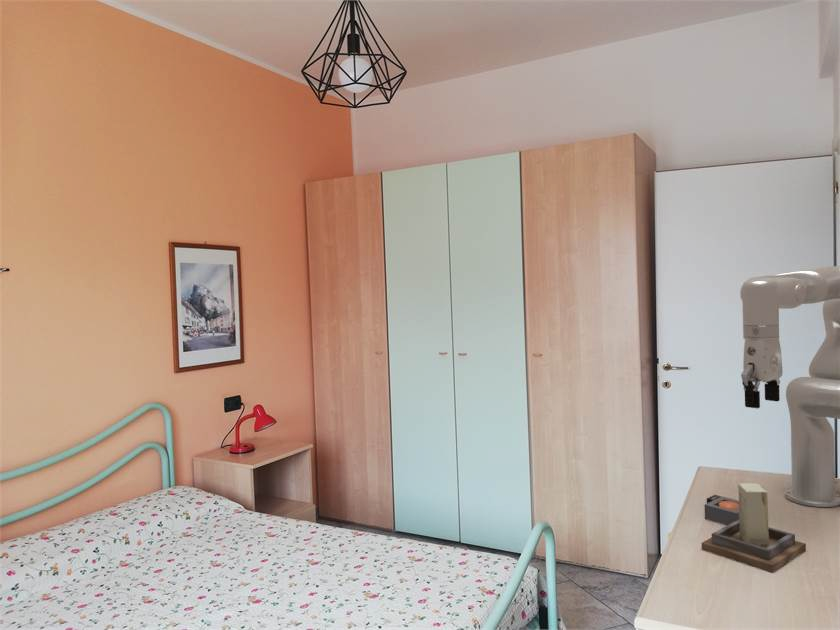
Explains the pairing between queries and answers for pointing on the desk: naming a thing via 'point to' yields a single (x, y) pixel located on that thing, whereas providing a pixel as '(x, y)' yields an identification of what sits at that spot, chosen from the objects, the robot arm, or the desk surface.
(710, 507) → the button housing
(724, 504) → the button
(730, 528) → the square wooden tray
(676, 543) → the desk surface
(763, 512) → the skincare box
